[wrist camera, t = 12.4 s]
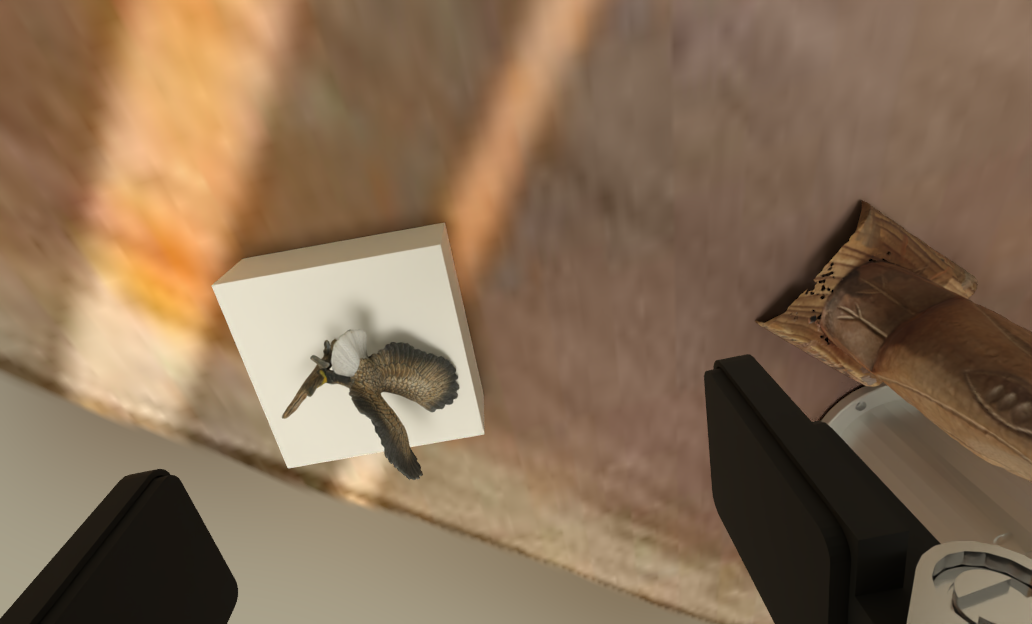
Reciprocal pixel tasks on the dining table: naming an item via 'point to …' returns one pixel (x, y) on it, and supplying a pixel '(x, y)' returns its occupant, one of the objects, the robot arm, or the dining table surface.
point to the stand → (351, 306)
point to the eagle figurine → (383, 387)
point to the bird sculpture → (920, 339)
